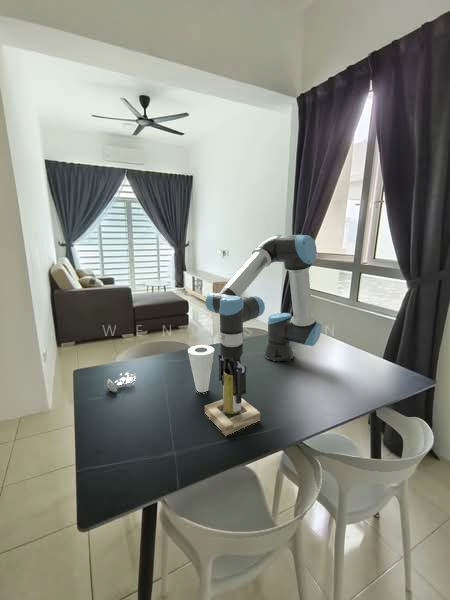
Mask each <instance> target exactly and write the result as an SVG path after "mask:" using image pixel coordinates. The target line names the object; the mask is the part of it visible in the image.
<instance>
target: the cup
mask: <svg viewBox="0 0 450 600" xmlns="http://www.w3.org/2000/svg"><path fill="white" fill-rule="evenodd" d="M214 353H215V348H214V347H213V346H211V345H207V344H198V345H194V346H191V347H189V348H188V349H187V354H188V358H189V362H190V367H191V371H192V376H193V381H194V385H195V386H194V387H195V391H196V390H197V391H198V392H206V391H208V392H209V385H210V381H211V374H212V366H213V361H214V355H215V354H214ZM197 391H196V392H197ZM198 392H197V393H198ZM206 393H207V392H206Z"/></svg>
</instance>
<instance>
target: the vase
mask: <svg viewBox="0 0 450 600" xmlns="http://www.w3.org/2000/svg"><path fill="white" fill-rule="evenodd" d="M236 371H237V370H236ZM233 372H234V371H233ZM234 393H235V391H234V385H233V375H231V374H230V373H225V371H224V405H223V410H224V412H226V413H228V414H236V413H238V412H239V411H240V410H239V411H237V412H234V411H233V394H234Z"/></svg>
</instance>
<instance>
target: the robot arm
mask: <svg viewBox="0 0 450 600" xmlns="http://www.w3.org/2000/svg"><path fill="white" fill-rule="evenodd" d="M317 251H318V250H317V244H316V242H315V240H314V238H313V237H312V236H310V235H305V234H304V235H303V234H283V235H282V234H278V235H273V236H270V237H269V238H267V239H264V240H263V241H262V242H261V243H260V244H258V245H257V246H256V247H255V248H254V249H253V250H252V252H251V256H250V257H249V258H248V259H247V260H246V261H245V263H244V264H243V265H242V266H241V267H240V268H239V269H238V270H237V271H236V273H234V274H233V276H232V277H231V278H230V279H229V280H228V282H226V283H225V285H224V286H223V287H222V288H221V289H220V290H219V291H218V292H210V293H209V294H208V295H207V297H206V298H205V307H206V310H207V311H210V312H211V313H215V314H219V329H220V330H219V335H220V336H219V338H220V339H219V341H220V342H219V343H220V345H219V347H220V348H219V349H220V350H219V351H220V353H219V354H218V355H217V357H218V358H217V359H218V381H219V382H221V385H222V399H223V402H224V371H225V373H230V374H231V375H233V385H234V391H235V393H234V394H233V411H234V412H237V411H239V410H241V402H242V399H243V397H242V396H243V395H246V394H247V380H246V373H247V366H246V365H244V366H243V365H242V363H241V362H242V361H241V357H242V355H243V354H244V344H243V342H244V331H243V330H244V329H243V328H244V323H246V322H248V321H252V320H254V319H257V318H258V317H260V316H262V315H263V314H264V312H265V309H266V307H265V302H264V300H263V299H262V298H261V297H259V296H254V295H251V296H249V297H244V296H242V295H243V294H244V293H245V291H246V290H247V289H248V288H249V287H250V286H251V284H252V283H253V282H254V281H255V279H257V277H258V276H259V275H260V274H261V273H262V271H264V269H265V268H267V267H269V266H270V265H271V264H273V263H276V262H278V263H283V265H284V269H285V270H286V271H288V277H289V286H290V295H291V297H290V298H291V303H292V313H293V315H292V314H291V313H289V312H280V313H279V312H278V313H273V314H271V315H269V316H268V318H267V319H268V321H267V343H266V347H265V349H264V352H263V356H264V355H265V356H266V357H267V358H269V359H271V360H275V361H287V362H290V361H292V360H293V359H294V352H293V349H292V348H293V347H292V345H291V342H293V343H297V344H300V345H304V346H310V347H313V346H315V345H317V343H318V341H319V339H320V336H321V334H322V324H321V322H317V317H316V316H315V315H314V314H313V307H312V294H311V281H310V270H309V269H311V268H312V266H313V263H314V262H315V261H316V259H317ZM291 359H292V360H291ZM236 370H237V371H236ZM233 371H234V372H233Z"/></svg>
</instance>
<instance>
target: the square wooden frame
mask: <svg viewBox="0 0 450 600" xmlns="http://www.w3.org/2000/svg"><path fill="white" fill-rule="evenodd" d="M223 405H224V402H223V398H222V399H220V400H217V401H213V402H211V403H209V404H206V405H204V415H205V414H206V415H207V416H208V417H209V418H208V417H207V416H206V415H205V416H206V417H207V418H208V420H211V421H212V422H213V423H214V424H215V425H216V426H217V427H218V428H219V429H220V430H221V431H222V432H221V431H220V430H219V429H218V428H217V427H216V426H215V425H214V424H213V423H212V422H211V421H210V422H211V423H212V424H213V425H214V426H215V427H216V428H217V429H218V430H219V431H220V432H221V434H223V435H224V436H225V437H226V436H227V435H229V434H231V435H233V434H235V433H234V432H236V431H238V430H240V429H242V428H244V429H246V428H245V427H247V426H249V425H251V424H253V423H256V422H258V421H260V422H261V412H260V411H259V410H258V409H257V408H255V407H254V406H253V405H251V403H249V402H247V401H246V400H245V399H244V398H242V402H241V410H240V411H239V412H238V413H236V414H228V413H226V412H224V410H223ZM258 423H259V422H258ZM256 424H257V423H256ZM253 425H254V424H253ZM251 426H252V425H251ZM249 427H250V426H249ZM247 428H248V427H247ZM242 430H243V429H242ZM240 431H241V430H240ZM238 432H239V431H238ZM232 433H233V434H232ZM236 433H237V432H236ZM229 436H230V435H229ZM227 437H228V436H227Z"/></svg>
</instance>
